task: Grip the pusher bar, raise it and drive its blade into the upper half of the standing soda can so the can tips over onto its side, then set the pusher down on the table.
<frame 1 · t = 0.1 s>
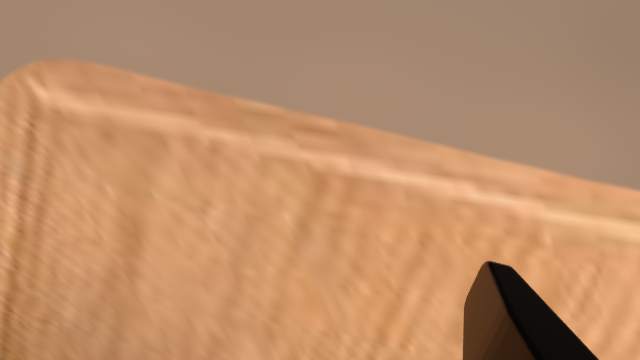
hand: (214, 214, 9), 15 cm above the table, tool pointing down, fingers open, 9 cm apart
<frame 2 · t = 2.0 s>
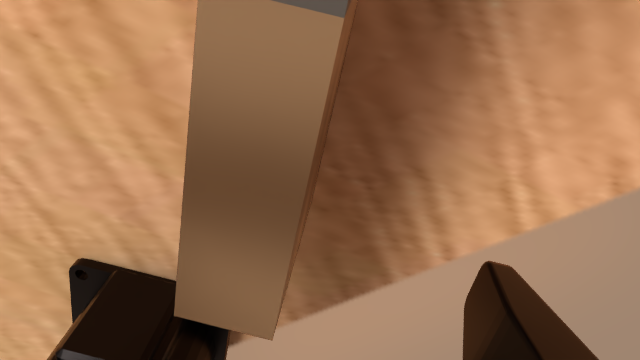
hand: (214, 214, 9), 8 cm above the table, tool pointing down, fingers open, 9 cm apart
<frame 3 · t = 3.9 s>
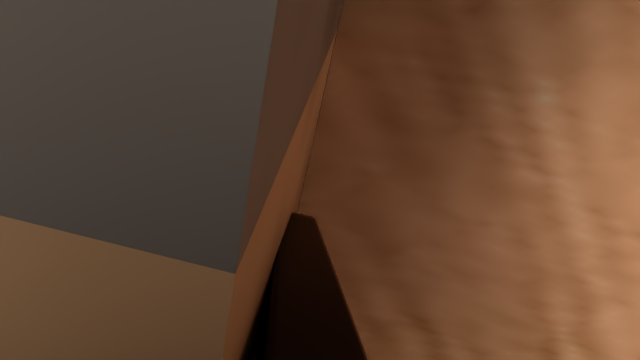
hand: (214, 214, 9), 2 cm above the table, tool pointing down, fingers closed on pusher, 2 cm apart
pusher: (261, 12, 8), on the table, touching gripper
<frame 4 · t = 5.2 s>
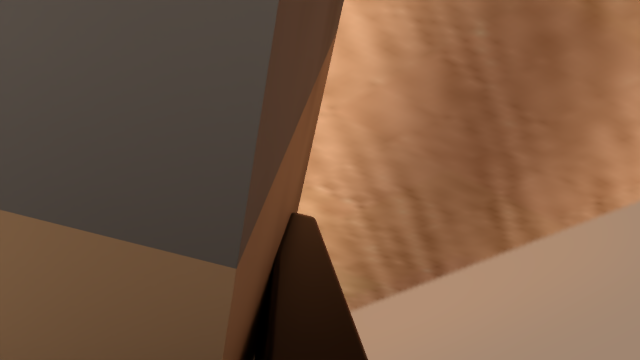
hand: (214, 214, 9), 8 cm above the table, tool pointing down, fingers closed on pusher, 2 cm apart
pusher: (262, 12, 9), point 6 cm above the table, touching gripper
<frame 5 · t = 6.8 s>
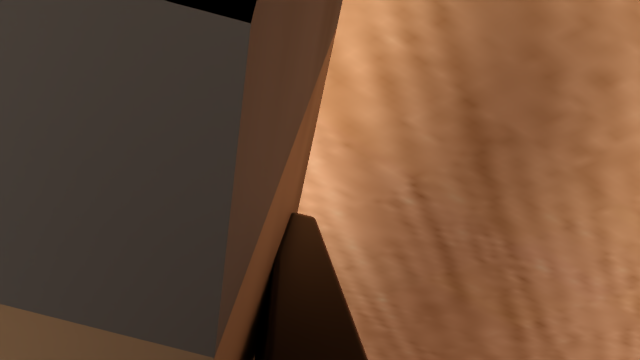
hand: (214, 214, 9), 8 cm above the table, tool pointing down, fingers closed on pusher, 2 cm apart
pusher: (258, 7, 8), point 7 cm above the table, tilted 6°, touching gripper
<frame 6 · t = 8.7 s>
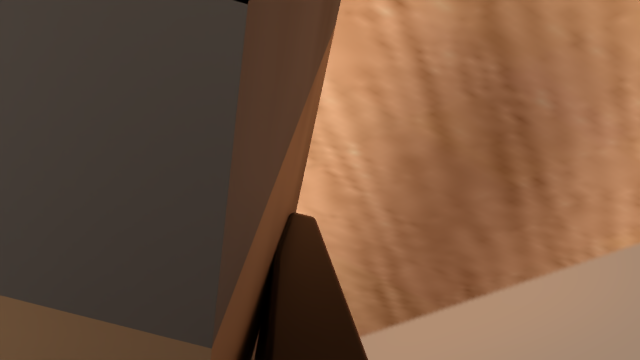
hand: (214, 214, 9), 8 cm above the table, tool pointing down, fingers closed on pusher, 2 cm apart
pusher: (257, 5, 8), point 7 cm above the table, tilted 6°, touching gripper
when the fingers open (3 cm above the table, at t = 10.4 s): pusher drops 2 cm, on the table.
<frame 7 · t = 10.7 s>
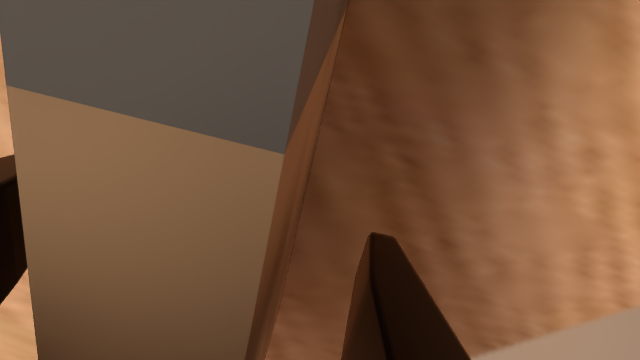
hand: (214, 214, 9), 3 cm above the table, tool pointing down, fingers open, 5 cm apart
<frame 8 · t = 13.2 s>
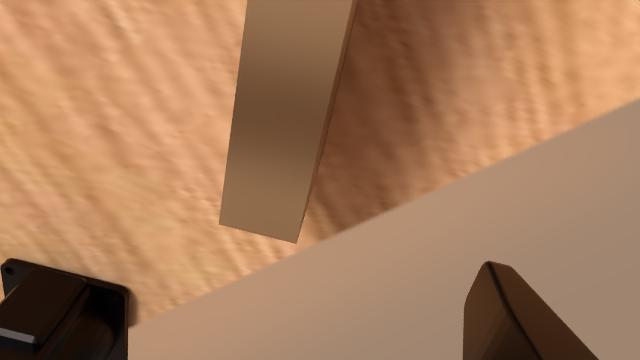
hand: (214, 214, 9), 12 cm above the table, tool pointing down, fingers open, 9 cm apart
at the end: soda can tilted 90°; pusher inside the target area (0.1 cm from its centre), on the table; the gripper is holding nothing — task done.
